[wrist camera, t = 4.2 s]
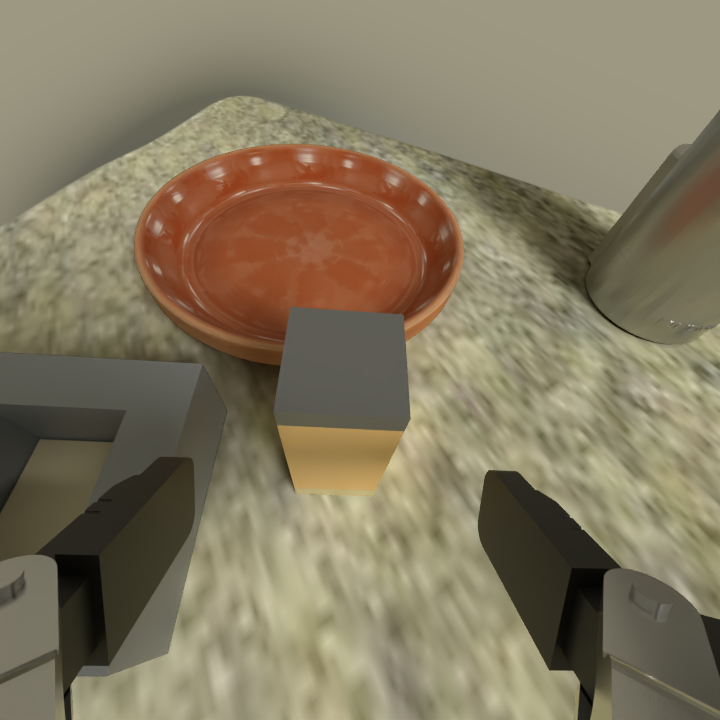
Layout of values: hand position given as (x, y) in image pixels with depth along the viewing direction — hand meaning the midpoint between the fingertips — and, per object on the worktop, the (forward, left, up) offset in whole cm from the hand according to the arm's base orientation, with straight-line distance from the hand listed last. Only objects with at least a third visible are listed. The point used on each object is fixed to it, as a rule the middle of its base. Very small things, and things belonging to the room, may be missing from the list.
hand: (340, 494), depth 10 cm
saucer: (-20, -3, -10) cm, 23 cm away
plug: (-4, 0, -9) cm, 10 cm away
